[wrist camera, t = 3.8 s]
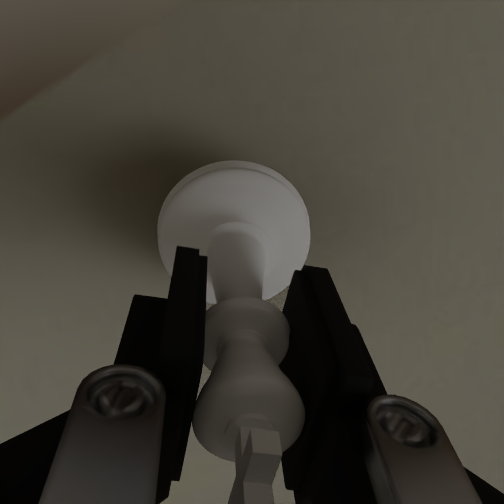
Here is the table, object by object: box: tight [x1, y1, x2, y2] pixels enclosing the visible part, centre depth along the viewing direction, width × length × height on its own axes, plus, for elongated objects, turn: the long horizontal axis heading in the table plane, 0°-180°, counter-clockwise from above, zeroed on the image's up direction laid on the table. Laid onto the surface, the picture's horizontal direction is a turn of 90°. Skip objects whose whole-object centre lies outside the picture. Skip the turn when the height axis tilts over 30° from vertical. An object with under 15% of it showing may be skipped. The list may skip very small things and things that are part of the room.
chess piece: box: [157, 160, 310, 504], centre depth 11 cm, size 5×5×10 cm
